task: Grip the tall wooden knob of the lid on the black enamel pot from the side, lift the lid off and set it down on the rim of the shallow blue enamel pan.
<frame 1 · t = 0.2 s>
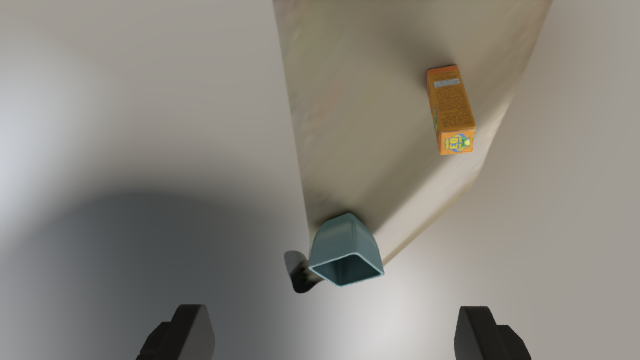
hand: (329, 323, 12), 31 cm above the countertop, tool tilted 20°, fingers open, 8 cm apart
supplement box: (439, 78, 41), on the countertop
flower pot: (345, 222, 63), on the countertop
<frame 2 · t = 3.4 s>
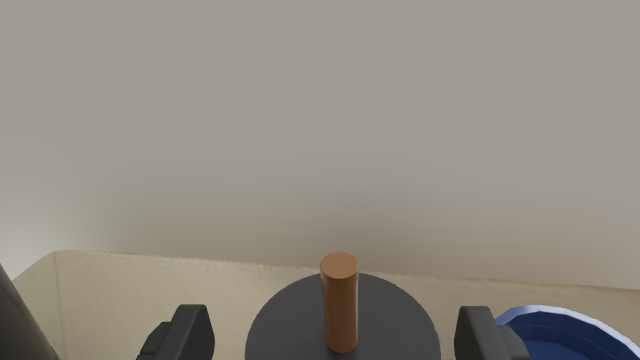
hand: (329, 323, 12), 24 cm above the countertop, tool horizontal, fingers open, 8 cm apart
lid: (341, 343, 29), point 8 cm above the countertop, touching pot
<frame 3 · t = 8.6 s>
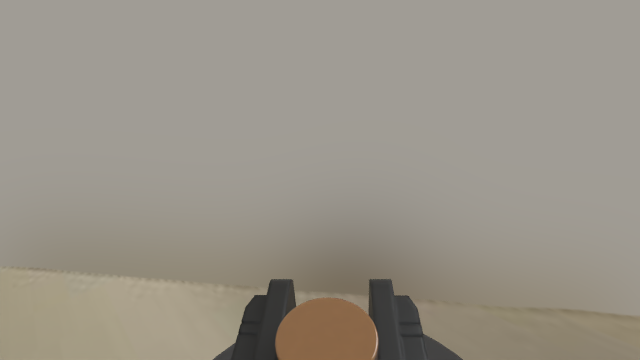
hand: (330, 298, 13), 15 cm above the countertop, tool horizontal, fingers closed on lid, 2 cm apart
when the fingers open (11 cm above the countertop, at t = 17.3 s): lid stays where it is, resting on pan.
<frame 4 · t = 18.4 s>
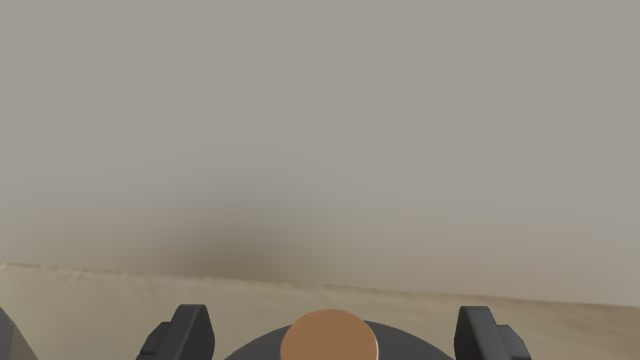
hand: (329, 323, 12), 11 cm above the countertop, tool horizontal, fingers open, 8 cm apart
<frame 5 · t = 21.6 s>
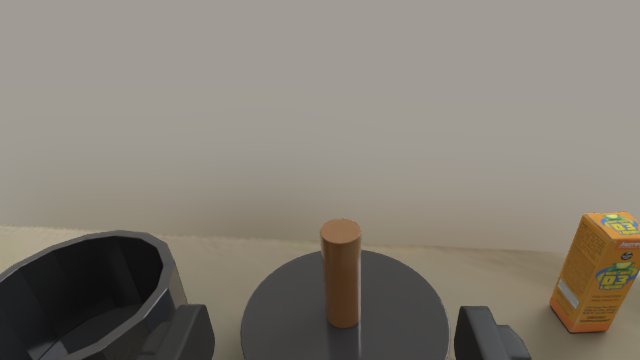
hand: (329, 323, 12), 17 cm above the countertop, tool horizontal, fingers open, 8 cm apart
supplement box: (577, 320, 32), on the countertop
lid: (343, 319, 27), point 4 cm above the countertop, touching pan
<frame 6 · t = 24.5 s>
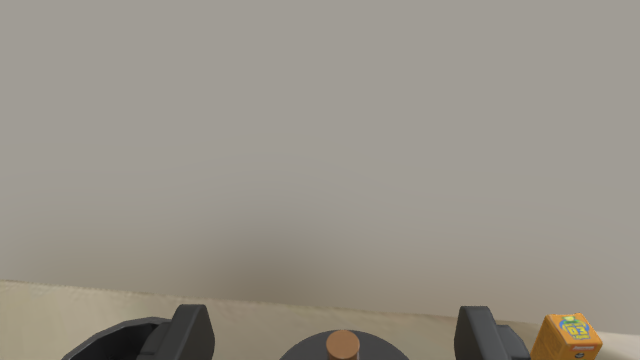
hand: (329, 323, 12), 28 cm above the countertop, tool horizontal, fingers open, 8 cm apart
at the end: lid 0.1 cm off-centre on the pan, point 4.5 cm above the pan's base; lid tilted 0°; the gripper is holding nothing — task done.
